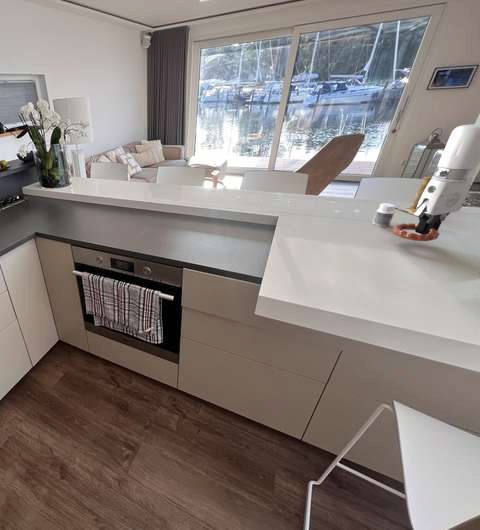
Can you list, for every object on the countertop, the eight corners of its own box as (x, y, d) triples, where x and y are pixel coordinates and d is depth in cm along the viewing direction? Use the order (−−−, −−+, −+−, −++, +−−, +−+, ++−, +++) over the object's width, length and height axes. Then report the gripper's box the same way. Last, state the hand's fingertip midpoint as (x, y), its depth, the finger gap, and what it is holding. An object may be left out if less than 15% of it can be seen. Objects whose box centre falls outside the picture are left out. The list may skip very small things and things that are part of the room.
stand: (434, 212, 112) (451, 178, 105) (414, 215, 111) (430, 181, 104) (412, 205, 119) (426, 173, 112) (393, 208, 118) (406, 176, 112)
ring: (447, 239, 85) (450, 232, 84) (415, 244, 85) (418, 238, 84) (411, 226, 94) (414, 220, 93) (382, 231, 94) (384, 225, 93)
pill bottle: (388, 230, 102) (398, 207, 98) (372, 228, 105) (380, 206, 100) (387, 225, 106) (396, 203, 102) (370, 223, 108) (378, 202, 104)
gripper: (442, 180, 77) (414, 241, 86) (495, 172, 78) (462, 233, 87) (413, 174, 83) (390, 232, 93) (463, 166, 84) (435, 224, 94)
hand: (425, 232), depth 90 cm, fingers closed on ring, 2 cm apart
